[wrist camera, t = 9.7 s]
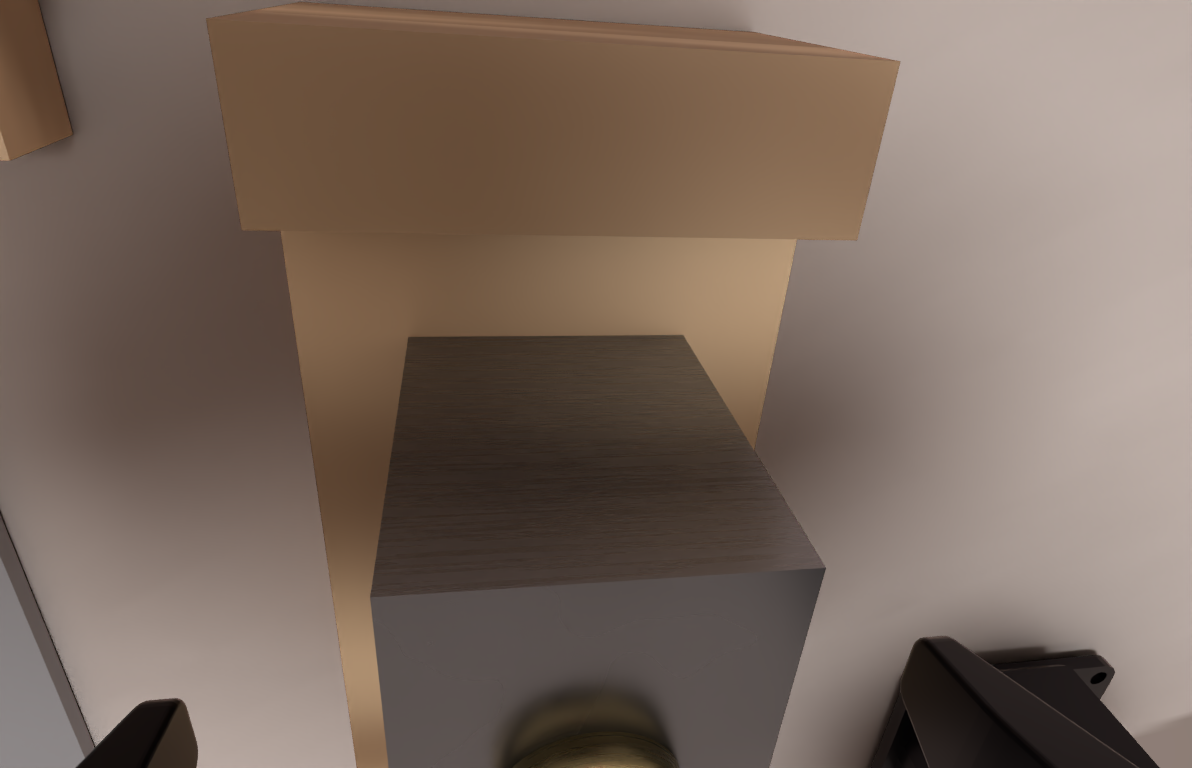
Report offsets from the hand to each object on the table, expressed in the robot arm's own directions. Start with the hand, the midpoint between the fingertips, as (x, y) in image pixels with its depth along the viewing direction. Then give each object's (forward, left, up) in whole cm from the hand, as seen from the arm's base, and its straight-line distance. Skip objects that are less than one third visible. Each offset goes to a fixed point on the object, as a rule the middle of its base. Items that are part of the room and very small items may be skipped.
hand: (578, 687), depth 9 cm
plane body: (0, 0, -7) cm, 7 cm away
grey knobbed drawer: (0, 0, -4) cm, 4 cm away
